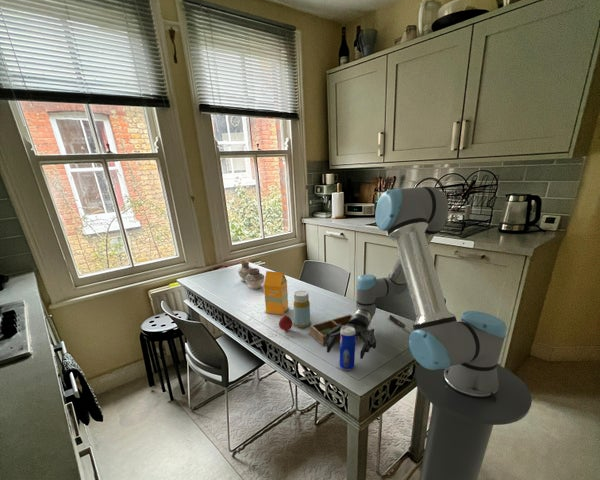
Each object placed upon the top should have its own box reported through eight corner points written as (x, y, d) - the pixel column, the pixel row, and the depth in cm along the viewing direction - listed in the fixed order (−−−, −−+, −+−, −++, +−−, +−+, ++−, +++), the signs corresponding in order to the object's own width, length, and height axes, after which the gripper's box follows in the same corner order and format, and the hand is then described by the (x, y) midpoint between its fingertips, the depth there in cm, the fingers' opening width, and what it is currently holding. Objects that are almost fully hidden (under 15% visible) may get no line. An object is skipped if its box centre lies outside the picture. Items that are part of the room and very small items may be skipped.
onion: (295, 329, 137) (294, 313, 134) (288, 335, 133) (287, 318, 129) (284, 326, 140) (283, 310, 137) (276, 332, 136) (275, 315, 132)
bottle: (292, 327, 139) (291, 295, 133) (296, 319, 145) (295, 289, 139) (308, 328, 138) (307, 297, 131) (311, 321, 144) (310, 290, 138)
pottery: (252, 276, 202) (250, 258, 197) (268, 288, 183) (266, 268, 178) (235, 279, 197) (232, 261, 192) (250, 292, 178) (247, 272, 173)
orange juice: (282, 314, 151) (280, 275, 142) (265, 312, 153) (262, 273, 145) (288, 307, 157) (286, 269, 149) (272, 305, 160) (269, 268, 152)
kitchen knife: (388, 318, 143) (389, 315, 142) (390, 318, 143) (391, 314, 143) (415, 337, 128) (416, 333, 127) (417, 337, 128) (418, 333, 127)
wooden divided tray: (365, 332, 133) (365, 324, 131) (323, 345, 125) (323, 336, 123) (350, 322, 141) (350, 314, 140) (310, 334, 133) (310, 325, 132)
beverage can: (336, 366, 112) (337, 329, 106) (345, 360, 115) (346, 324, 109) (348, 372, 109) (349, 334, 102) (357, 366, 112) (358, 329, 106)
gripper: (389, 335, 121) (378, 368, 102) (331, 326, 129) (312, 354, 111) (390, 318, 117) (380, 349, 99) (331, 309, 126) (311, 336, 108)
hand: (344, 352), depth 105 cm, fingers open, 11 cm apart
